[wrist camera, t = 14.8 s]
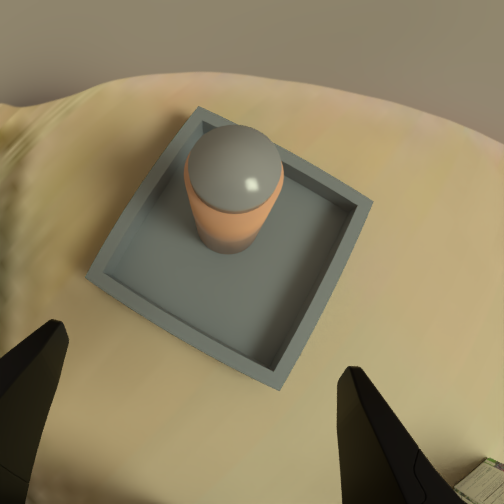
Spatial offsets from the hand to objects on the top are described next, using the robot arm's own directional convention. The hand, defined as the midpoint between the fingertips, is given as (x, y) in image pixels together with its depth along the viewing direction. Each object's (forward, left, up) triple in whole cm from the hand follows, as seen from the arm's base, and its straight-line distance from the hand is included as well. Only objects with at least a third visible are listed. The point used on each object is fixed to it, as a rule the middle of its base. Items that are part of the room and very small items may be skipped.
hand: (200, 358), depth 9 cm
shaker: (+7, +3, -13) cm, 15 cm away
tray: (+6, +2, -14) cm, 15 cm away
